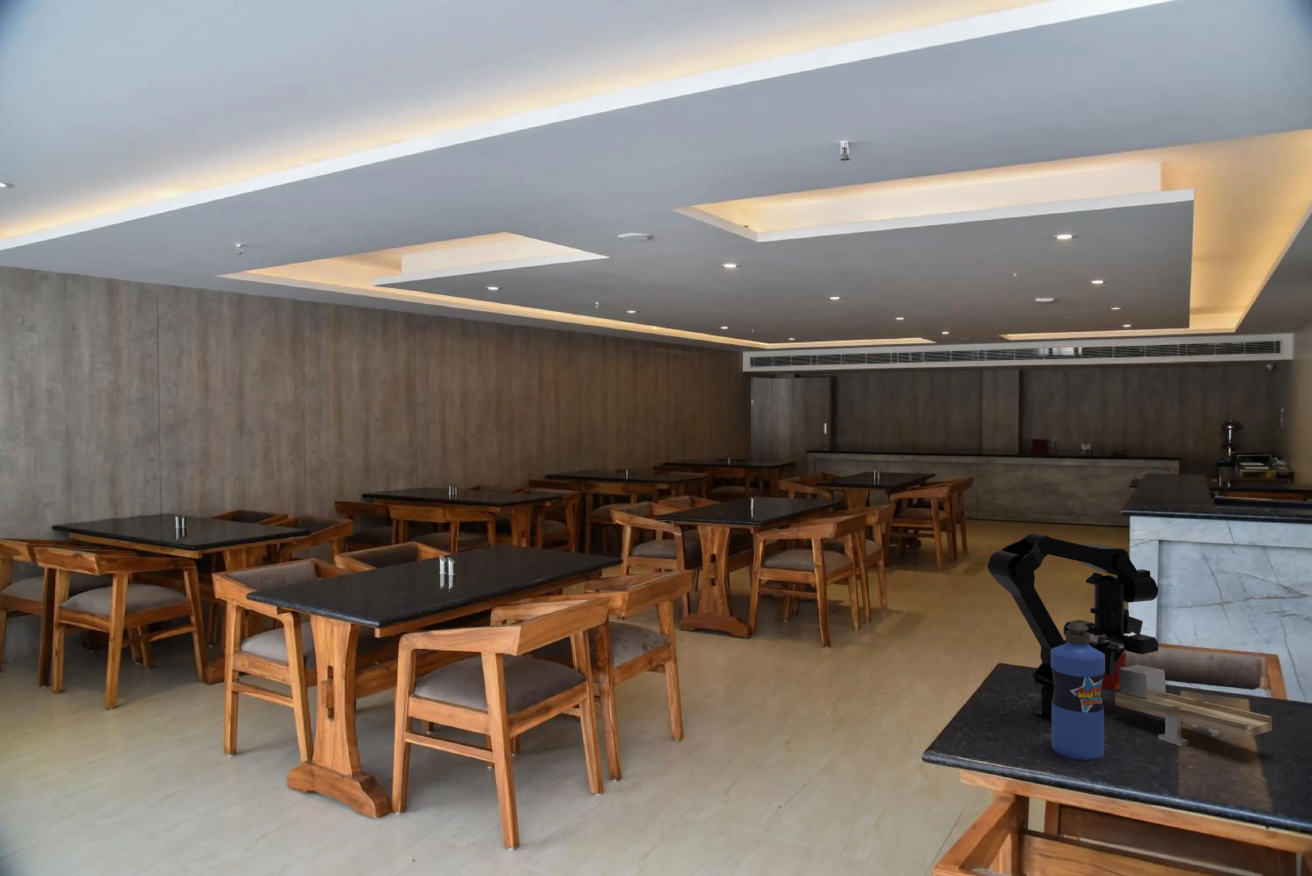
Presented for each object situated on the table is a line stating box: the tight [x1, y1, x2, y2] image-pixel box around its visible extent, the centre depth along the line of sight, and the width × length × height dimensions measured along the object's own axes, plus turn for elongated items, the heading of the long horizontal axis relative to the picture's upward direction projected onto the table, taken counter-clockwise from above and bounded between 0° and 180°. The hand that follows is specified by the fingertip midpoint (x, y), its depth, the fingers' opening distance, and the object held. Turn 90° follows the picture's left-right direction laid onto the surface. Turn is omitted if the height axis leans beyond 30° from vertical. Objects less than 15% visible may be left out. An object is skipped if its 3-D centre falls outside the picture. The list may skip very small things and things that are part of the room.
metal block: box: [1119, 664, 1167, 702], centre depth 181 cm, size 6×6×6 cm
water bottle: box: [1051, 619, 1105, 761], centre depth 166 cm, size 9×9×25 cm
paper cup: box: [1102, 633, 1130, 690], centre depth 204 cm, size 8×8×14 cm
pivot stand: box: [1157, 714, 1221, 747], centre depth 172 cm, size 13×4×5 cm, turn 117°
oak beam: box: [1114, 692, 1273, 739], centre depth 172 cm, size 8×26×4 cm, turn 27°
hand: (1109, 675), depth 187 cm, fingers closed
